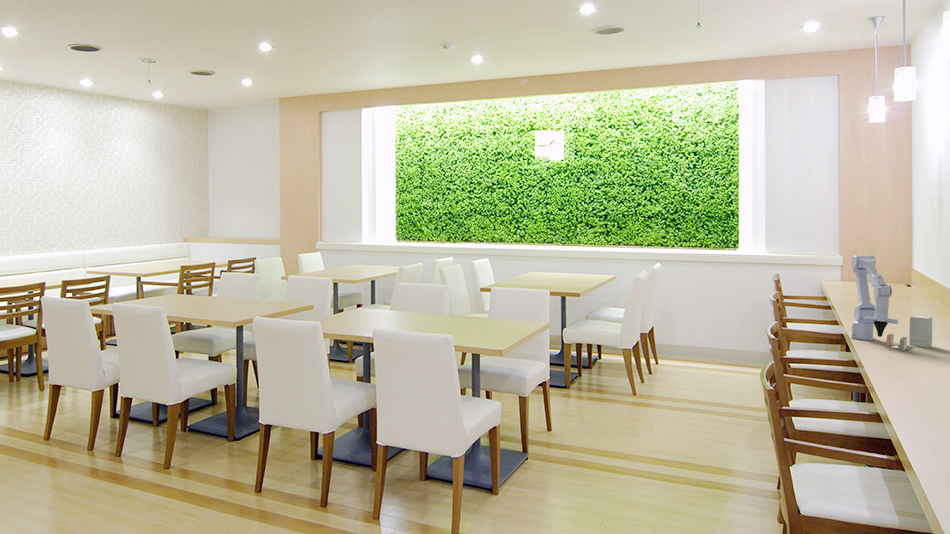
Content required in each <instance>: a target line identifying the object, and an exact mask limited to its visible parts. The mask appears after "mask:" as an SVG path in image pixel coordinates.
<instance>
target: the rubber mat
mask: <svg viewBox="0 0 950 534" xmlns="http://www.w3.org/2000/svg"><path fill="white" fill-rule="evenodd" d="M897 345H898V347H899V348H898V349H897V350H899V349H900V344H897ZM913 348H914V346H910V345H909V346H908V345H907V347H906V350H905V351H910V350H912V349H913Z"/></svg>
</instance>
